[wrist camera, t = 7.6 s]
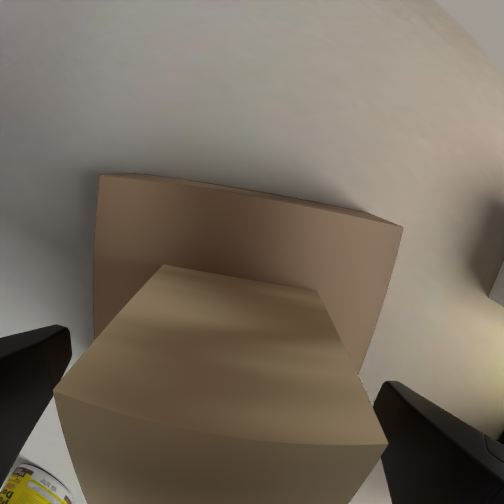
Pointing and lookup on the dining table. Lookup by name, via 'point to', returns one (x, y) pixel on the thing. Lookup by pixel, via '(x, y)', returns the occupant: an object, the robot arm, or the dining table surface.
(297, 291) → the oak block
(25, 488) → the supplement bottle
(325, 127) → the dining table surface
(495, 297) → the grey block
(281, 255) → the walnut block
